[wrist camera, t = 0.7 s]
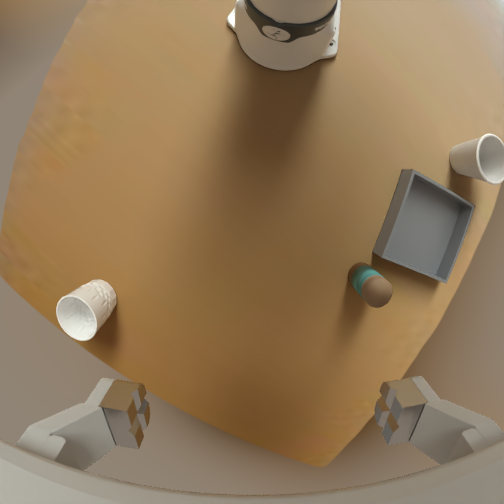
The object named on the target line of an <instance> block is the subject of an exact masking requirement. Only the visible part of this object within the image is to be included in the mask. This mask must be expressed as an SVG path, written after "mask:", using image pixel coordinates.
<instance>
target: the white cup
mask: <svg viewBox="0 0 504 504" xmlns="http://www.w3.org/2000/svg"><path fill="white" fill-rule="evenodd" d="M116 304H117V296H116V294H115V291H114V289H113V288H112V287H111V286H110V285H109V283H108V282H105V281H103V280H101V279H98V280H92V281H91V282H89V283H87V284H85V285H83V286H81V287H79V288H77V289H76V290H74V291H72V292H71V293H69V294H67V295H66V296H64V297H63V298H61V299H60V300H59V302H58V304H57V309H56V313H57V318H58V321H59V323H60V325H61V327H62V328H63V330H64V331H65V332H66V333H67V334H68V335H69V336H71V337H72V338H74V339H76V340H80V341H86V340H89V339H91V338H92V337H93V336H94V335H95V334H96V333H97V331H98V330H99V329H100V327H101V326H102V325H103V324H104V322H105V321H106V320H107V318H108V317H109V316H110V314H111V312H112V311H113V310H114V308H115V306H116Z"/></svg>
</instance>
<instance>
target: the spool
mask: <svg viewBox="0 0 504 504" xmlns="http://www.w3.org/2000/svg"><path fill="white" fill-rule="evenodd" d="M348 280H349V282H350V284H351V285H352V286H353V287H354V289H355V290H356V291H357V292H358V293H359V294H360V295H361V297H362V298H363V299H364V300H365V301H366V302H367V303H368V304H369V305H370V306H372V307H375V308H378V307H382V306H384V305H385V304H387V303H388V302H389V300H390V299H391V297H392V292H393V289H392V286H391V284H390V283H389V282H388V281H387V280H386V279H385V278H384V277H383V276H381V275H380V274H379V273H378V272H377V271H375V270H374V269H373V268H372V267H370V266H369V265H367V264H366V263H357V264H355V265H353V266H352V267H351V268H350V270H349V273H348Z"/></svg>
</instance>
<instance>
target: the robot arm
mask: <svg viewBox="0 0 504 504" xmlns="http://www.w3.org/2000/svg"><path fill="white" fill-rule="evenodd" d="M340 8H341V0H237V1H236V3H235V8H234V9H233V11H232V12H231V13H230V14H229V16H228V17H227V23H228V25H229V26H230V27H231V28H232V29H233V30H234V31H235V32H236V34H237V36H238V40H239V43H240V45H241V47H242V49H243V50H244V52H245V53H246V54H247V55H248V56H249V57H250V58H251V59H252V60H254V61H255V62H257V63H258V64H260V65H262V66H265V67H267V68H271V69H275V70H296V69H300V68H303V67H306V66H308V65H310V64H311V63H313V62H315V61H316V60H319V59H325V58H331V57H334V56H335V55H336V53H337V50H338V37H339V23H340ZM330 43H331V44H332V46H330ZM380 393H381V395H382V396H381V397H380V398H379V399H378V400H377V402H376V406H375V418H376V421H377V423H378V425H379V426H381V427H383V428H384V429H383V432H382V434H383V436H384V438H385V440H386V443H387V445H394V444H399V443H404V442H409V443H411V444H412V445H413V446H415V447H416V448H417V449H419V450H420V451H422V452H423V453H424V454H426V455H427V456H429V457H430V458H432V459H433V460H435V461H436V462H438V463H439V464H440V465H438V466H435V467H433V468H429V469H426V470H422V471H419V472H416V473H412V474H408V475H405V476H401V477H397V478H393V479H389V480H385V481H380V482H375V483H371V484H365V485H360V486H354V487H348V488H341V489H335V490H327V491H318V492H309V493H297V494H280V495H279V494H278V495H227V494H208V493H197V492H186V491H179V490H171V489H164V488H157V487H151V486H146V485H140V484H135V483H130V482H126V481H120V480H117V479H112V478H108V477H104V476H101V475H97V474H93V473H90V472H86V471H84V470H85V469H87V468H88V467H89V466H91V465H92V464H93V463H95V462H96V461H98V460H99V459H100V458H102V457H103V456H104V455H106V454H107V453H108V452H110V451H111V450H112V449H114V448H115V447H116V446H122V447H128V448H135V449H139V448H140V445H141V442H142V440H143V437H144V435H143V431H142V430H144V429H145V428H147V426H148V424H149V419H150V407H149V403H148V402H147V401H146V400H145V399H144V397H145V395H146V389H145V386H144V385H143V384H142V383H135V382H129V381H123V380H115V379H110V378H102V379H101V380H100V381H99V383H98V384H97V386H96V387H95V389H94V390H93V392H92V393H91V395H90V396H89V398H88V399H87V401H86V402H85V404H83V403H80V404H78V405H75V406H73V407H71V408H69V409H67V410H64V411H62V412H60V413H57V414H55V415H53V416H51V417H48V418H46V419H44V420H41V421H39V422H37V423H35V424H32V425H30V426H29V427H28V429H27V430H26V431H25V433H24V434H23V435H22V437H21V438H20V439H19V441H18V442H17V443H16V445H13V444H11V443H9V442H7V441H5V440H3V439H1V438H0V504H504V433H503V431H502V430H501V429H500V428H499V426H498V425H497V424H496V423H495V422H494V421H493V419H490V418H488V417H485V416H483V415H480V414H478V413H475V412H473V411H470V410H468V409H466V408H463V407H461V406H458V405H456V404H454V403H451V402H449V401H447V400H440V399H439V397H438V396H437V395H436V393H435V392H434V391H433V390H432V388H431V387H430V386H429V384H428V383H427V382H426V381H425V379H424V378H423V377H422V376H416V377H411V378H407V379H401V380H394V381H388V382H383V384H382V385H381V388H380Z"/></svg>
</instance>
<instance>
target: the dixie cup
mask: <svg viewBox="0 0 504 504" xmlns="http://www.w3.org/2000/svg"><path fill="white" fill-rule="evenodd" d="M450 164H451V166H452V168H453V170H454V171H455V172H456V173H458V174H461V175H464V176H468V177H472V178H475V179H479V180H482V181H486V182H488V183H489V184H492V185H498V184H500V183H501V182H502V181H503V180H504V144H503V142H502V141H501V140H500V139H499V138H498V137H497V136H495V135H493V134H486V135H484V136H482V137H480V138H477V139H474V140H470V141H467V142H464V143H461V144H458V145H455V146H454V147H453V148H452V149H451V151H450Z"/></svg>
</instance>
